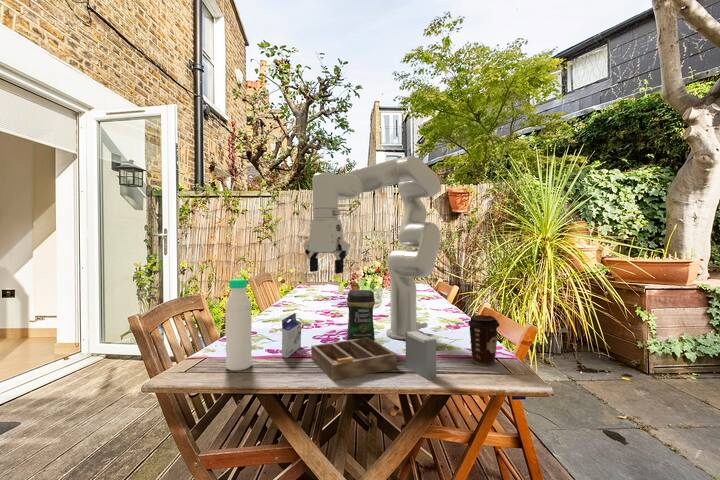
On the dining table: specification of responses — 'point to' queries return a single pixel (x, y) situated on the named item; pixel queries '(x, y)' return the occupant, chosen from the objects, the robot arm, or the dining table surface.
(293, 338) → the ink box
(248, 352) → the water bottle
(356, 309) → the coffee jar
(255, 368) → the dining table surface
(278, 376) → the dining table surface
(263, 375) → the dining table surface
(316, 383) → the dining table surface
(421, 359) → the panel
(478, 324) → the coffee cup
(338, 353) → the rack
